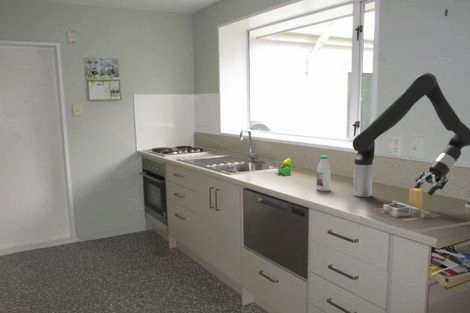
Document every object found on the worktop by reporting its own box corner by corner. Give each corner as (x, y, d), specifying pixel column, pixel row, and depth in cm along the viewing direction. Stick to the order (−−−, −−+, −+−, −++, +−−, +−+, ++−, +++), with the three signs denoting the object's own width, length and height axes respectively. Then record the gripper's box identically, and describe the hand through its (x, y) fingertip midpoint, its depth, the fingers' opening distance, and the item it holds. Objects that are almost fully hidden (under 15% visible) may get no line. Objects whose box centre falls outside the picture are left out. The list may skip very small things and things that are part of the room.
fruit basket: (276, 173, 282) (276, 157, 281) (287, 172, 285) (287, 156, 283) (282, 175, 271) (282, 159, 270) (294, 174, 274) (294, 158, 272)
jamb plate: (372, 211, 183) (372, 201, 182) (406, 206, 190) (407, 197, 189) (404, 223, 164) (404, 213, 164) (440, 217, 171) (441, 207, 170)
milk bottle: (328, 188, 232) (328, 154, 229) (331, 191, 224) (332, 156, 221) (315, 188, 232) (315, 154, 229) (318, 191, 224) (318, 156, 221)
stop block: (408, 210, 180) (409, 189, 178) (415, 209, 181) (416, 188, 180) (415, 212, 176) (416, 190, 175) (422, 211, 178) (423, 190, 176)
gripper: (425, 158, 186) (405, 184, 184) (451, 162, 173) (429, 190, 171) (433, 168, 189) (414, 194, 186) (459, 173, 175) (438, 201, 173)
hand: (421, 192), depth 179 cm, fingers open, 8 cm apart
